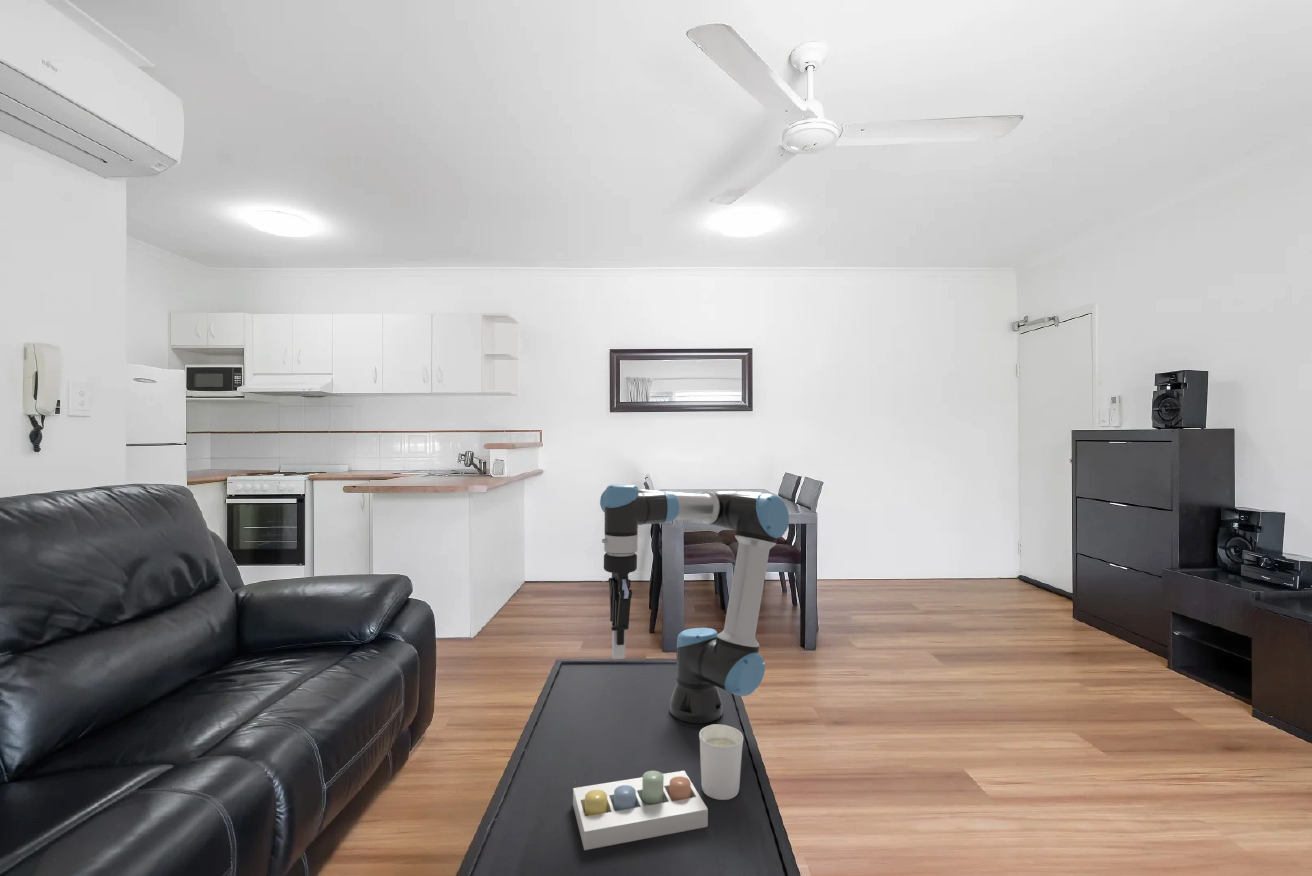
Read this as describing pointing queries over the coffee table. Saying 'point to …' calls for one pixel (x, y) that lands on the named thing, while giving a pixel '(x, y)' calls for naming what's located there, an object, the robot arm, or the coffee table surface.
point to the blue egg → (624, 797)
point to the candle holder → (720, 761)
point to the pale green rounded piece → (652, 787)
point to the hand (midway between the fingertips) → (618, 657)
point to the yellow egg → (595, 802)
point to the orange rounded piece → (679, 788)
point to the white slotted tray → (638, 814)
